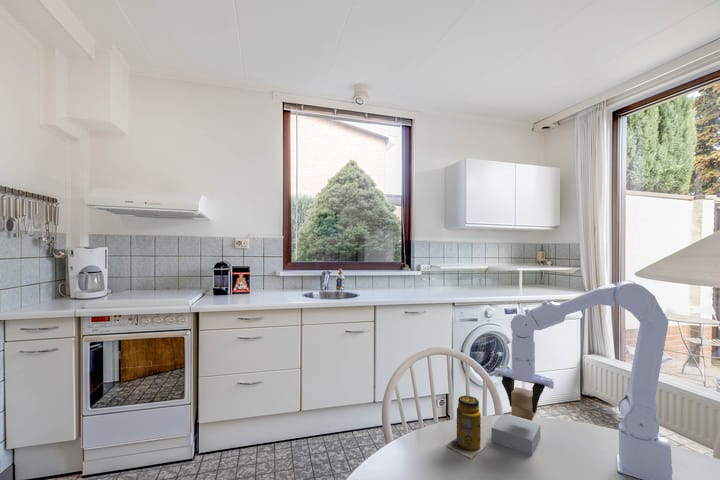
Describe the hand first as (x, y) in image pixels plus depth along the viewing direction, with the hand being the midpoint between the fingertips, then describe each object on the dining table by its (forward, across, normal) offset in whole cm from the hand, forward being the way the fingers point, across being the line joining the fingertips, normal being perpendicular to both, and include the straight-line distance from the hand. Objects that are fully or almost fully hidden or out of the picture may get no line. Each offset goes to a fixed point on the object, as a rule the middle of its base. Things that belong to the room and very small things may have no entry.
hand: (523, 408), depth 93 cm
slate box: (+9, +2, +1) cm, 9 cm away
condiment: (+9, +12, +12) cm, 19 cm away
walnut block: (+2, 0, 0) cm, 2 cm away
